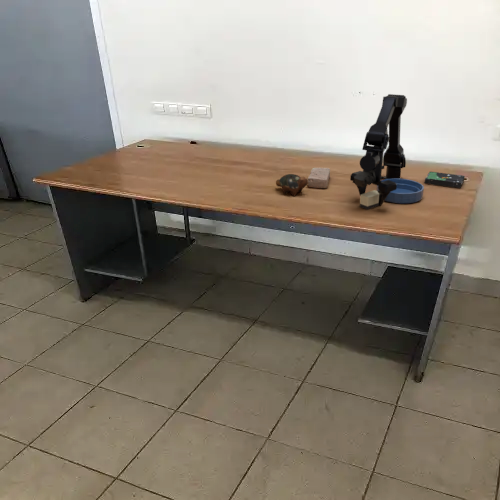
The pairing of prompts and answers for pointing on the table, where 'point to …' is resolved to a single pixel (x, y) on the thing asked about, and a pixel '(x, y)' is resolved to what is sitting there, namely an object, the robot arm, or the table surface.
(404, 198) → the bowl
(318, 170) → the brick
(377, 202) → the eraser
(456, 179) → the disk drive
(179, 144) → the table surface
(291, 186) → the decorative turtle
